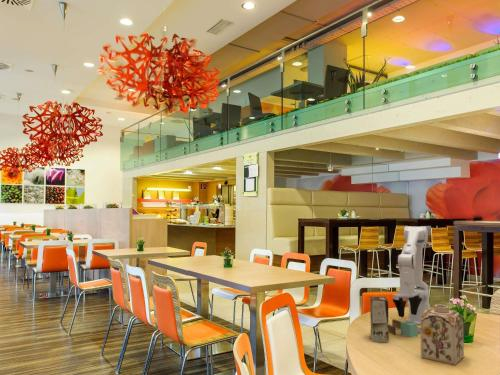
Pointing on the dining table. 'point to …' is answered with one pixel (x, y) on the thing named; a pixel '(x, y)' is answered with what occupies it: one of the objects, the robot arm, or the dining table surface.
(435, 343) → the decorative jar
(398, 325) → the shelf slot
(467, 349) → the dining table surface
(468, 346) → the dining table surface
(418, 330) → the mat
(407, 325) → the block
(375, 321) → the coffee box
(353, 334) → the dining table surface
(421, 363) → the dining table surface
